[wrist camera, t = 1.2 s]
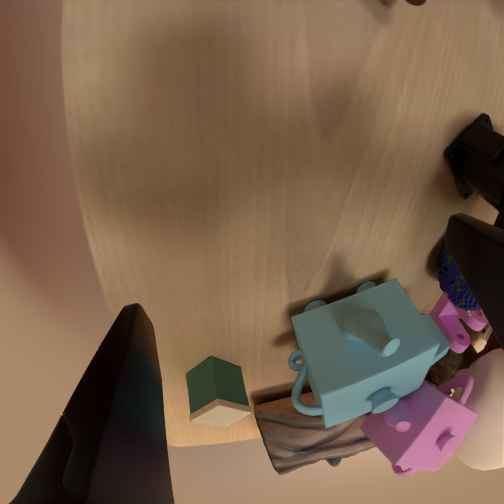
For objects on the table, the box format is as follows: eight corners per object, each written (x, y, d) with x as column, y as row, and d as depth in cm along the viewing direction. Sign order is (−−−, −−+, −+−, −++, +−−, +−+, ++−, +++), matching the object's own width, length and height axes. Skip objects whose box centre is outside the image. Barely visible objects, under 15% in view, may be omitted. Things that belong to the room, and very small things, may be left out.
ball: (445, 283, 34) (484, 237, 31) (479, 327, 28) (523, 278, 25) (417, 263, 30) (462, 209, 27) (456, 316, 24) (510, 255, 21)
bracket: (428, 316, 38) (453, 355, 32) (448, 285, 34) (478, 324, 29) (476, 308, 41) (499, 339, 36) (494, 282, 38) (520, 313, 33)
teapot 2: (316, 427, 31) (358, 485, 21) (390, 323, 31) (455, 356, 21) (403, 453, 35) (443, 491, 25) (459, 374, 35) (509, 401, 25)
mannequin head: (440, 380, 27) (417, 456, 41) (580, 431, 13) (501, 492, 27) (482, 287, 34) (456, 389, 48) (596, 321, 20) (533, 418, 34)
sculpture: (267, 475, 40) (420, 415, 44) (278, 493, 29) (463, 410, 33) (248, 407, 45) (402, 356, 50) (253, 405, 34) (441, 338, 39)
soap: (479, 338, 50) (486, 349, 48) (487, 320, 46) (495, 331, 43) (507, 318, 49) (514, 327, 47) (516, 299, 45) (524, 309, 43)
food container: (241, 366, 35) (252, 413, 30) (215, 384, 36) (222, 428, 31) (211, 354, 32) (219, 405, 27) (184, 373, 33) (189, 421, 29)
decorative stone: (426, 325, 41) (430, 306, 40) (471, 358, 34) (479, 339, 32) (377, 358, 38) (381, 339, 36) (425, 400, 30) (434, 382, 29)
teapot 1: (285, 374, 37) (311, 456, 29) (250, 275, 26) (287, 400, 17) (399, 331, 37) (439, 401, 29) (416, 219, 26) (494, 306, 17)
